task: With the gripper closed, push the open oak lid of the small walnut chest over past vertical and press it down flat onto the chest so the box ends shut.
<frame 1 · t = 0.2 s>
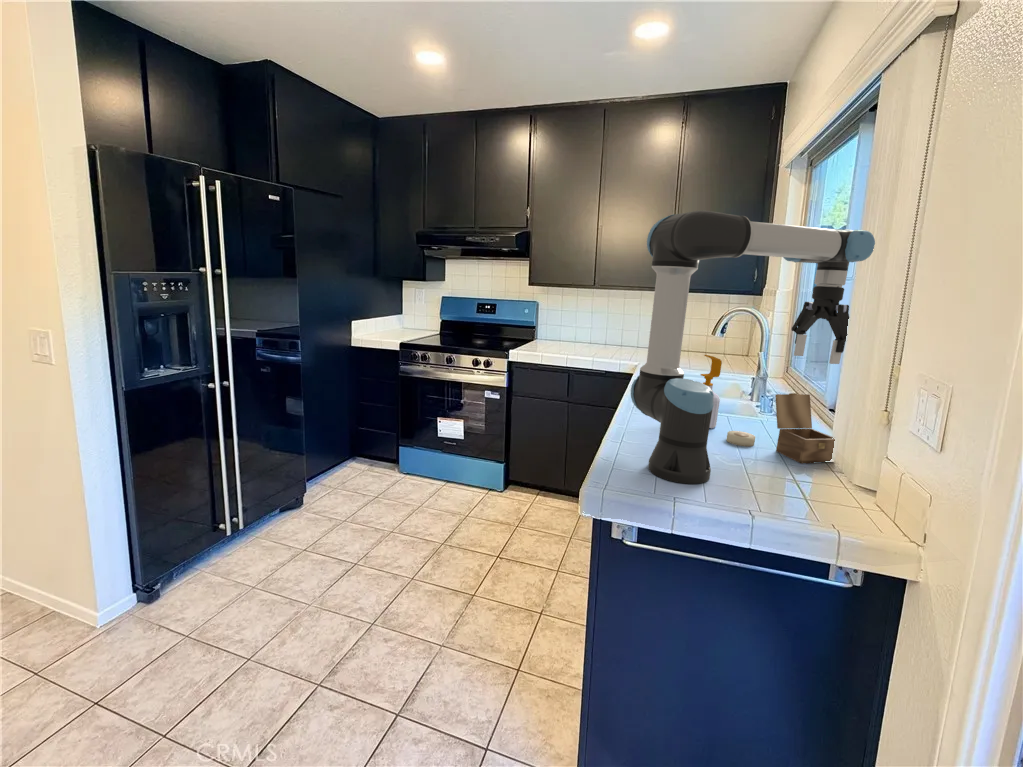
hand: (815, 359, 146), 28 cm above the worktop, tool pointing down, fingers open, 13 cm apart
chest: (804, 456, 146), on the worktop
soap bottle: (701, 425, 173), on the worktop
lid: (794, 410, 150), point 12 cm above the worktop, hinge at 108.0°
tape roll: (740, 442, 156), on the worktop
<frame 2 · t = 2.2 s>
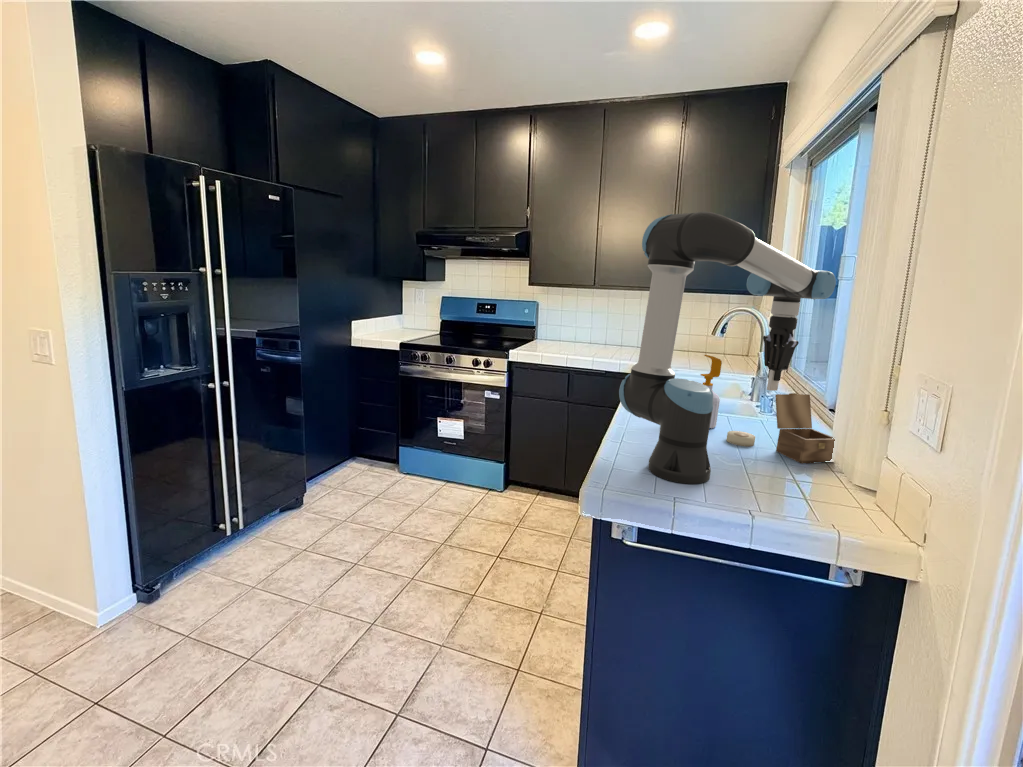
hand: (771, 389, 159), 16 cm above the worktop, tool pointing down, fingers closed
nothing on the worktop moved.
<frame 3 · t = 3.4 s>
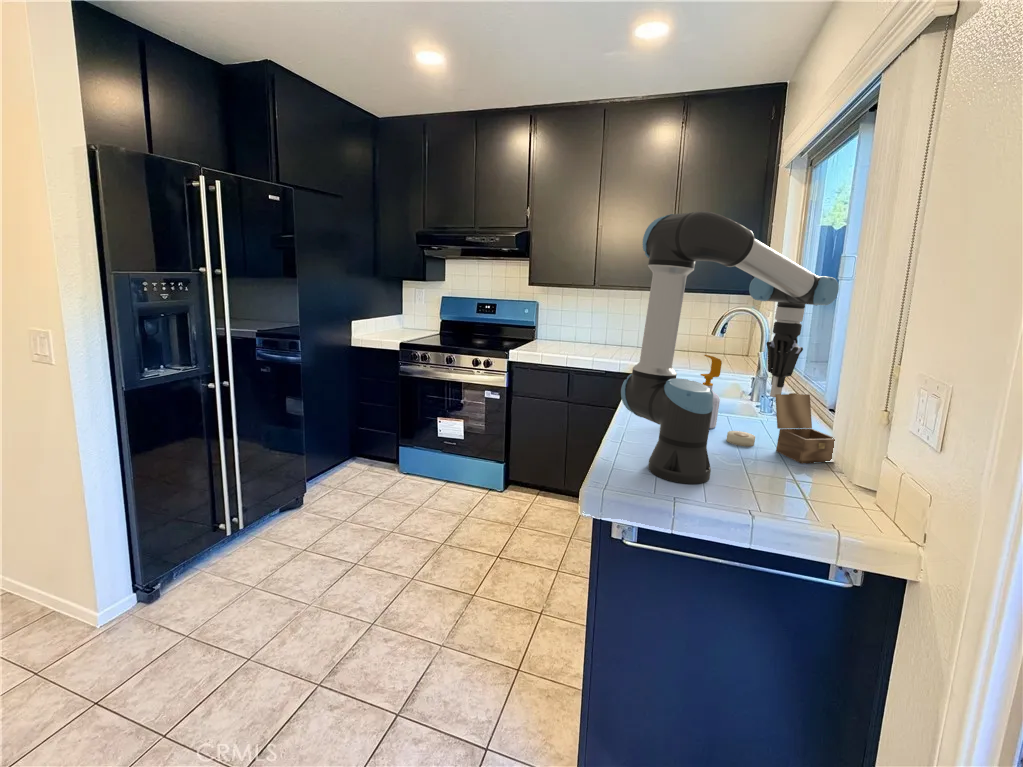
hand: (775, 396, 157), 14 cm above the worktop, tool pointing down, fingers closed
nothing on the worktop moved.
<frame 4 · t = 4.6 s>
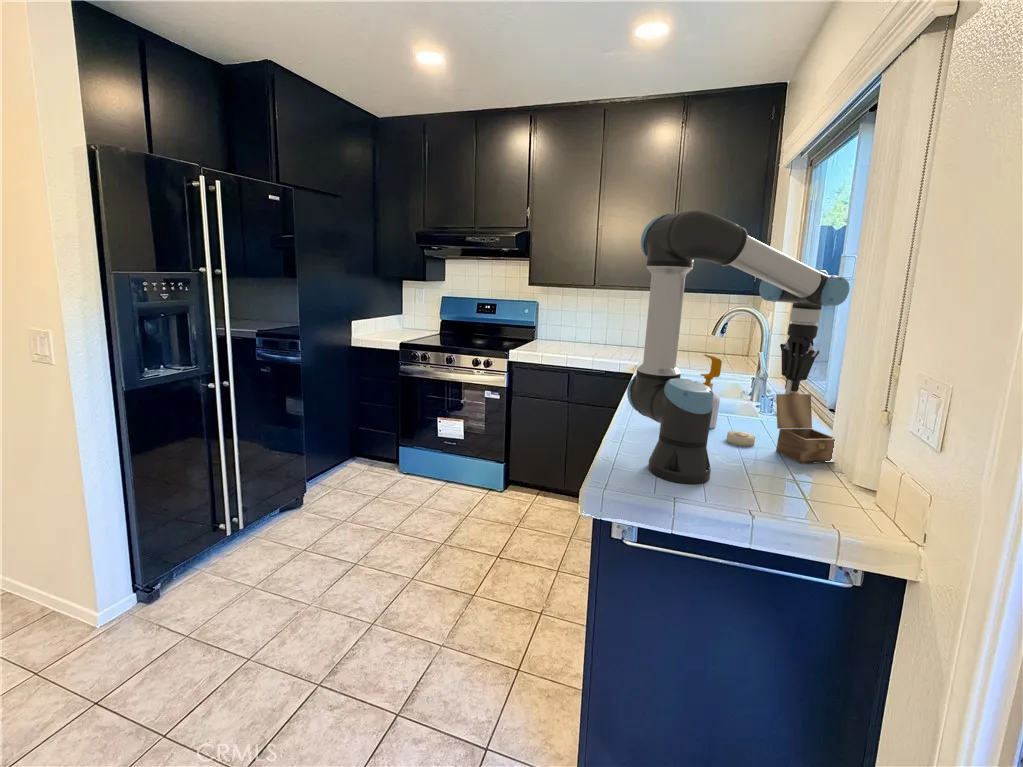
hand: (789, 400, 151), 14 cm above the worktop, tool pointing down, fingers closed
lid: (794, 410, 149), point 12 cm above the worktop, hinge at 105.9°, touching gripper
everything else where it was.
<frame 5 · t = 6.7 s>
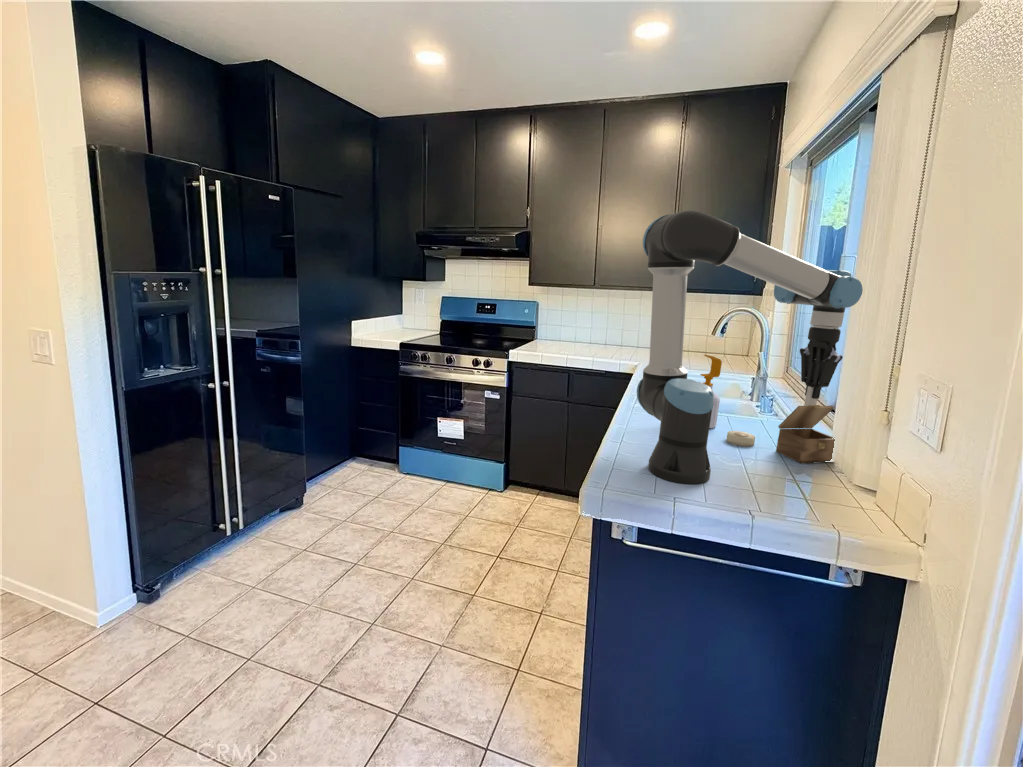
hand: (809, 408, 144), 14 cm above the worktop, tool pointing down, fingers closed
lid: (806, 417, 145), point 11 cm above the worktop, hinge at 52.1°, touching gripper
everything else where it was.
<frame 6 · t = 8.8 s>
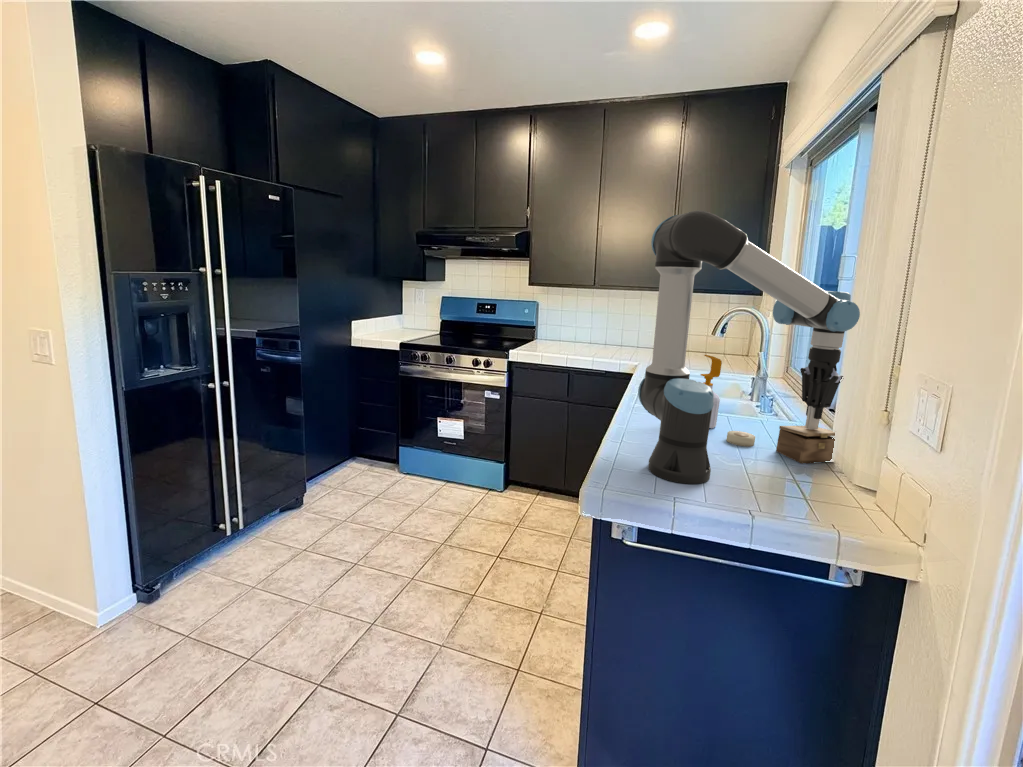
hand: (811, 428, 144), 9 cm above the worktop, tool pointing down, fingers closed
lid: (809, 431, 144), point 8 cm above the worktop, hinge at 5.7°, touching gripper
everything else where it was.
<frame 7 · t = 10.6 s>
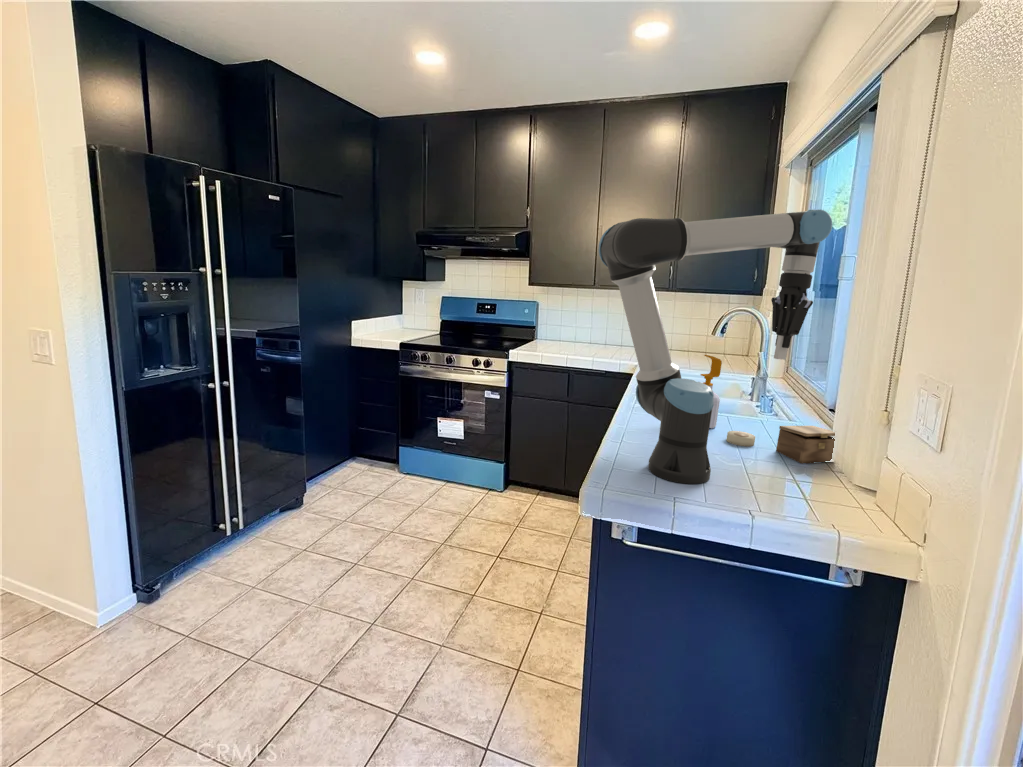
hand: (779, 358, 139), 28 cm above the worktop, tool pointing down, fingers closed
lid: (809, 431, 144), point 8 cm above the worktop, hinge at 5.5°
everything else where it was.
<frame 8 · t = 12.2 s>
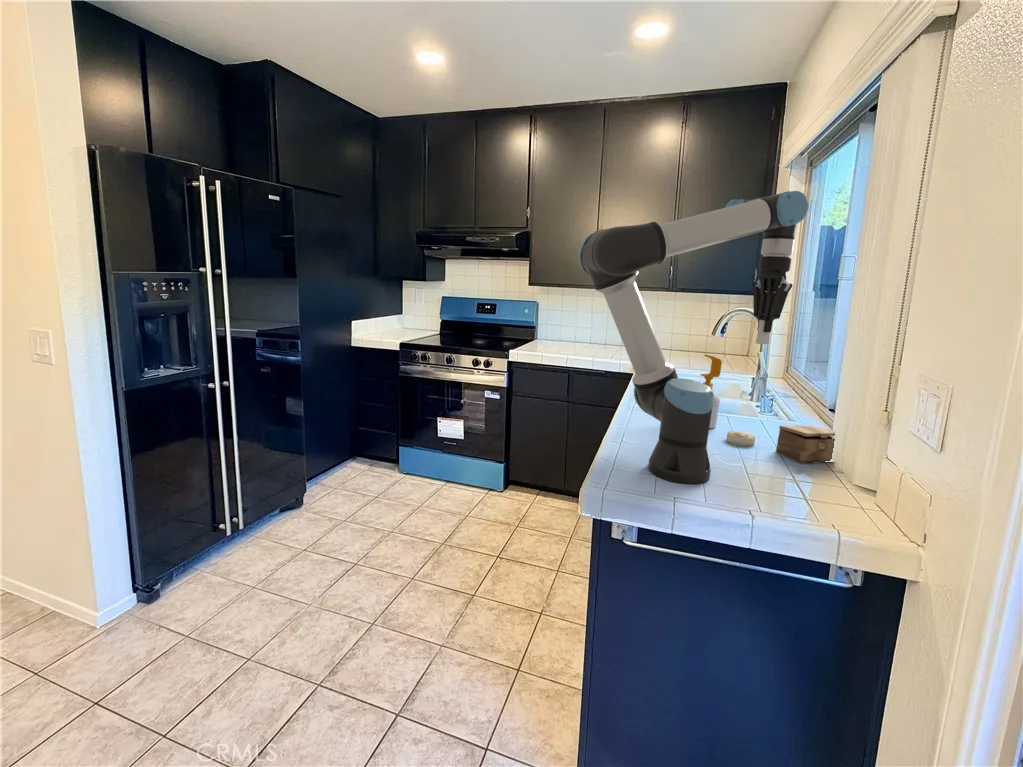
hand: (761, 343, 138), 32 cm above the worktop, tool pointing down, fingers closed
nothing on the worktop moved.
at the end: lid at +6° (first picture: +108°); tape roll moved 0.1 cm from its start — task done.
